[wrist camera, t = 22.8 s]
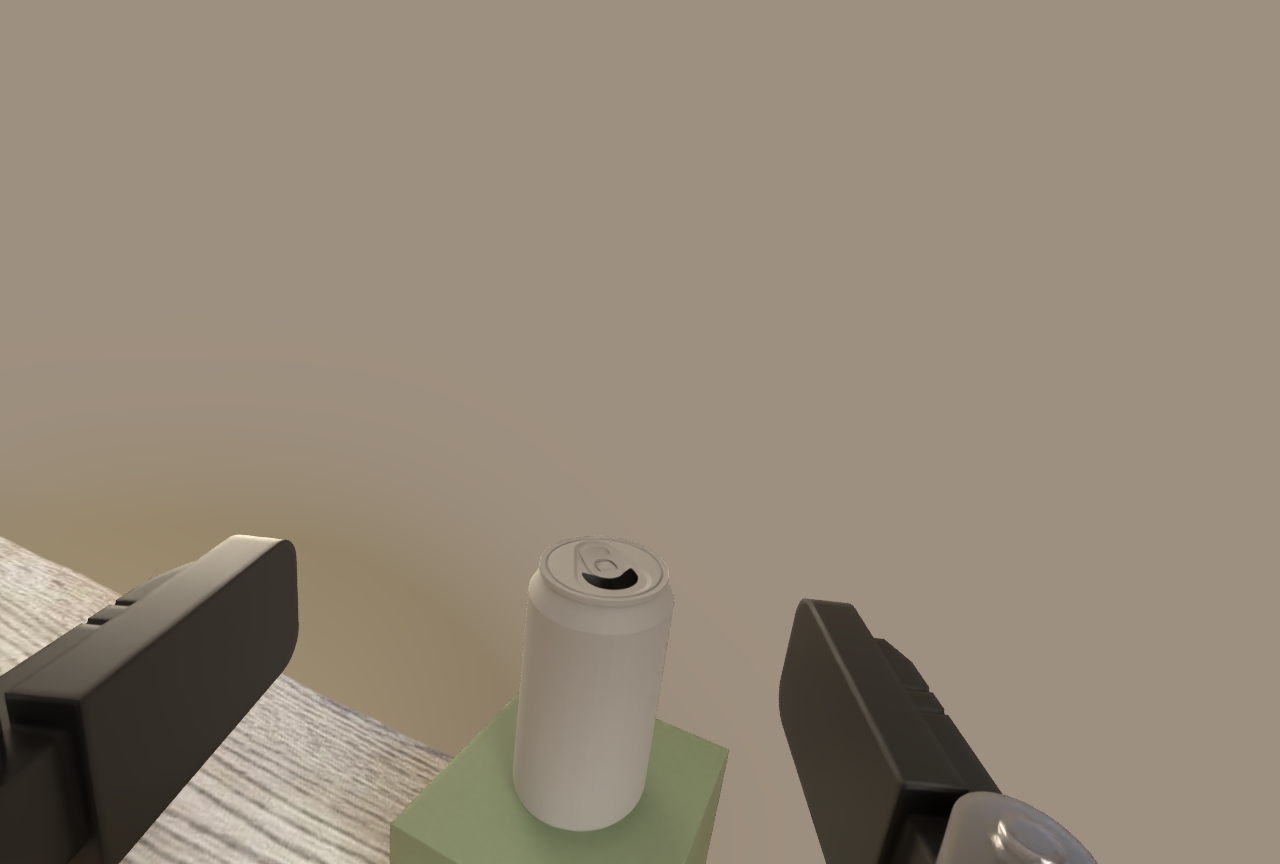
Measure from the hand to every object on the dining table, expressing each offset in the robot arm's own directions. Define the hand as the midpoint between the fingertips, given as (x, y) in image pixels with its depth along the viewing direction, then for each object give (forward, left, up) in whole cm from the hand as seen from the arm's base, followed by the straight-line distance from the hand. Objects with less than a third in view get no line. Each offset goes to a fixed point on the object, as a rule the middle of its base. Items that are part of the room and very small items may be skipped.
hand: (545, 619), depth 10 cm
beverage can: (-4, -15, -19) cm, 24 cm away
